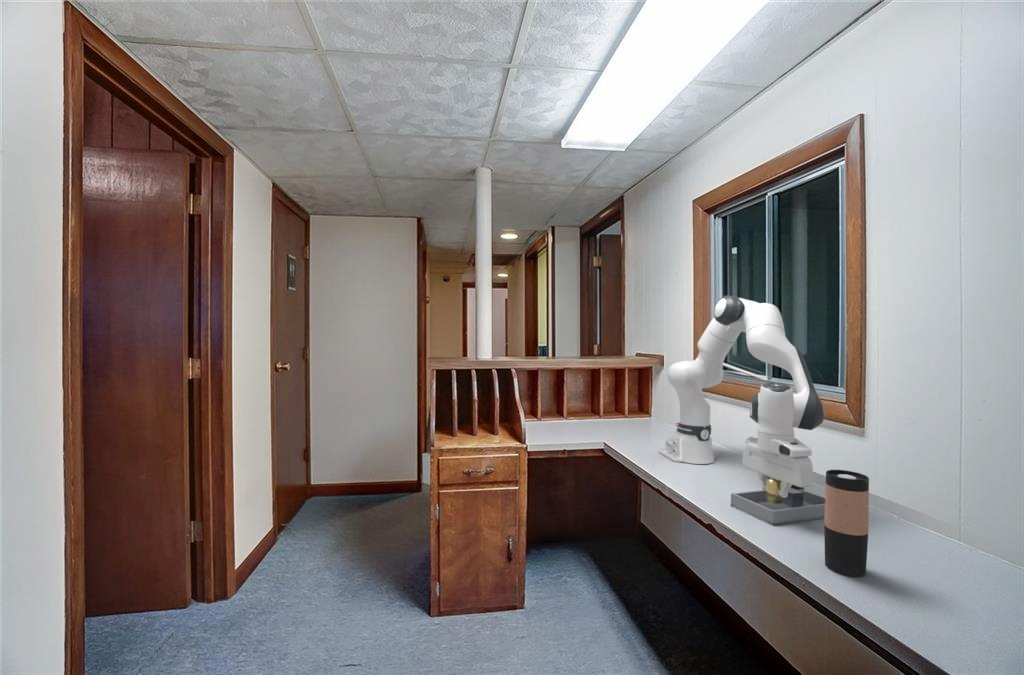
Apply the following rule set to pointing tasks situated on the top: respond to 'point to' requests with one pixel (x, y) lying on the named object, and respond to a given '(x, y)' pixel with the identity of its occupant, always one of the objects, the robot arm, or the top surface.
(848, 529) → the travel mug
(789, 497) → the steel block
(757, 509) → the parts tray
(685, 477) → the top surface
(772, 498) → the brass cylinder
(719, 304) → the robot arm
